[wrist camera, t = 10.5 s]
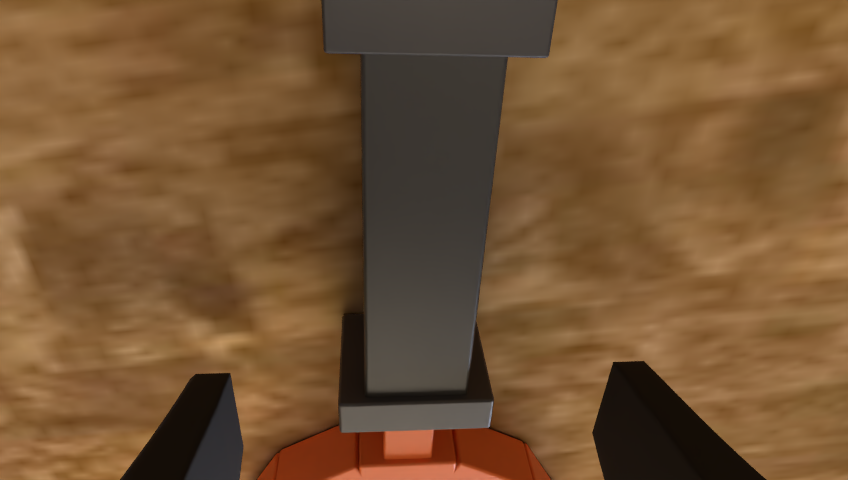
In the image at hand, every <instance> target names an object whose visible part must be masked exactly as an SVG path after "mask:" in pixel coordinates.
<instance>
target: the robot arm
mask: <svg viewBox="0 0 848 480" xmlns="http://www.w3.org/2000/svg"><path fill="white" fill-rule="evenodd" d="M592 433H593V437H594V441H595V445H596V449H597V453H598V457H599V461H600V465H601V469H602V472H603V476H604V479H605V480H766V479H765V478H764V477H763V476H761V475H760V474H759V473H758V472H757V471H756V470H755V469H754V468H753V467H751V466H750V465H749V464H748V463H747V462H746V461H745V460H744V459H743V458H742V457H740V456H739V455H738V454H737V453H736V452H735V451H734V450H733V449H732V448H731V447H730V446H729V445H728V444H727V443H726V442H725V441H724V440H723V439H721V438H720V437H719V436H718V435H717V434H716V433H715V432H714V431H713V430H712V429H711V428H710V427H709V426H708V425H707V424H706V423H705V422H704V421H703V420H702V419H701V418H700V417H699V416H698V415H697V414H696V413H695V412H694V411H693V410H692V409H691V408H690V407H689V406H688V405H687V404H686V403H685V402H684V401H683V400H682V399H681V398H680V397H679V396H678V395H677V394H676V393H675V392H674V391H673V390H672V389H671V388H670V387H669V386H668V385H667V384H666V383H665V382H664V381H663V380H662V379H661V378H660V377H659V376H658V375H657V374H656V373H655V372H654V371H653V370H652V369H651V368H650V367H649V366H648V365H647V364H646V363H645V362H644V361H635V362H613V365H612V368H611V372H610V375H609V378H608V382H607V385H606V389H605V392H604V395H603V399H602V402H601V405H600V409H599V412H598V415H597V419H596V422H595V425H594V429H593V432H592ZM242 454H243V441H242V436H241V430H240V425H239V419H238V414H237V408H236V403H235V397H234V392H233V386H232V381H231V375H230V373H216V374H195V375H194V376H193V377H192V378H191V379H190V380H189V382H188V383H187V385H186V386H185V388H184V390H183V391H182V393H181V394H180V396H179V397H178V399H177V400H176V402H175V404H174V405H173V407H172V408H171V410H170V411H169V413H168V414H167V415H166V417H165V418H164V420H163V421H162V423H161V424H160V426H159V427H158V429H157V430H156V431H155V433H154V434H153V436H152V437H151V439H150V440H149V441H148V443H147V444H146V445H145V447H144V448H143V450H142V451H141V452H140V454H139V455H138V456H137V458H136V459H135V460H134V462H133V463H132V464H131V466H130V467H129V468H128V470H127V471H126V473H125V474H124V475H123V477H122V478H121V479H120V480H239V479H240V471H241V462H242Z"/></svg>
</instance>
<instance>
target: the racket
mask: <svg viewBox="0 0 848 480" xmlns="http://www.w3.org/2000/svg"><path fill="white" fill-rule="evenodd" d="M321 1H322V23H323V45H324V51H325V53H336V54H360V56H361V138H362V219H363V300H364V314H344V315H343V317H342V336H341V357H340V378H339V399H338V411H339V426H336V427H334V428H332V429H329V430H327V431H324V432H322V433H320V434H317V435H315V436H313V437H310V438H308V439H306V440H303V441H301V442H298V443H296V444H294V445H291V446H289V447H287V448H284V449H282V450H281V451H280V453H277V454H276V455H275V456H274V457H273V459H272V460H271V461H270V463H269V464H268V465H267V467H266V468H265V469H264V471H263V472H262V473H261V475H260V476H259V477H258V479H257V480H551V479H550V478H549V476H548V475H547V473H546V472H545V470H544V469H543V467H542V466H541V464H540V463H539V461H538V460H537V459H536V457H535V456H534V454H533V453H532V451H531V450H530V448H529V447H528V445H527V444H526V443H524V444H523V442H522V441H520V440H518V439H515V438H512V437H510V436H507V435H504V434H502V433H499V432H496V431H494V430H491V429H488V427H490V423H491V416H492V410H493V404H494V398H493V394H492V389H491V385H490V380H489V376H488V371H487V367H486V362H485V358H484V353H483V349H482V345H481V340H480V336H479V331H478V327H477V322H476V317H477V309H478V301H479V293H480V284H481V276H482V268H483V259H484V251H485V243H486V234H487V226H488V218H489V210H490V201H491V193H492V185H493V176H494V168H495V160H496V151H497V143H498V135H499V127H500V118H501V110H502V102H503V93H504V85H505V77H506V68H507V60H508V57H527V58H546V57H548V56H549V52H550V45H551V39H552V33H553V26H554V20H555V14H556V7H557V1H558V0H321Z"/></svg>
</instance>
